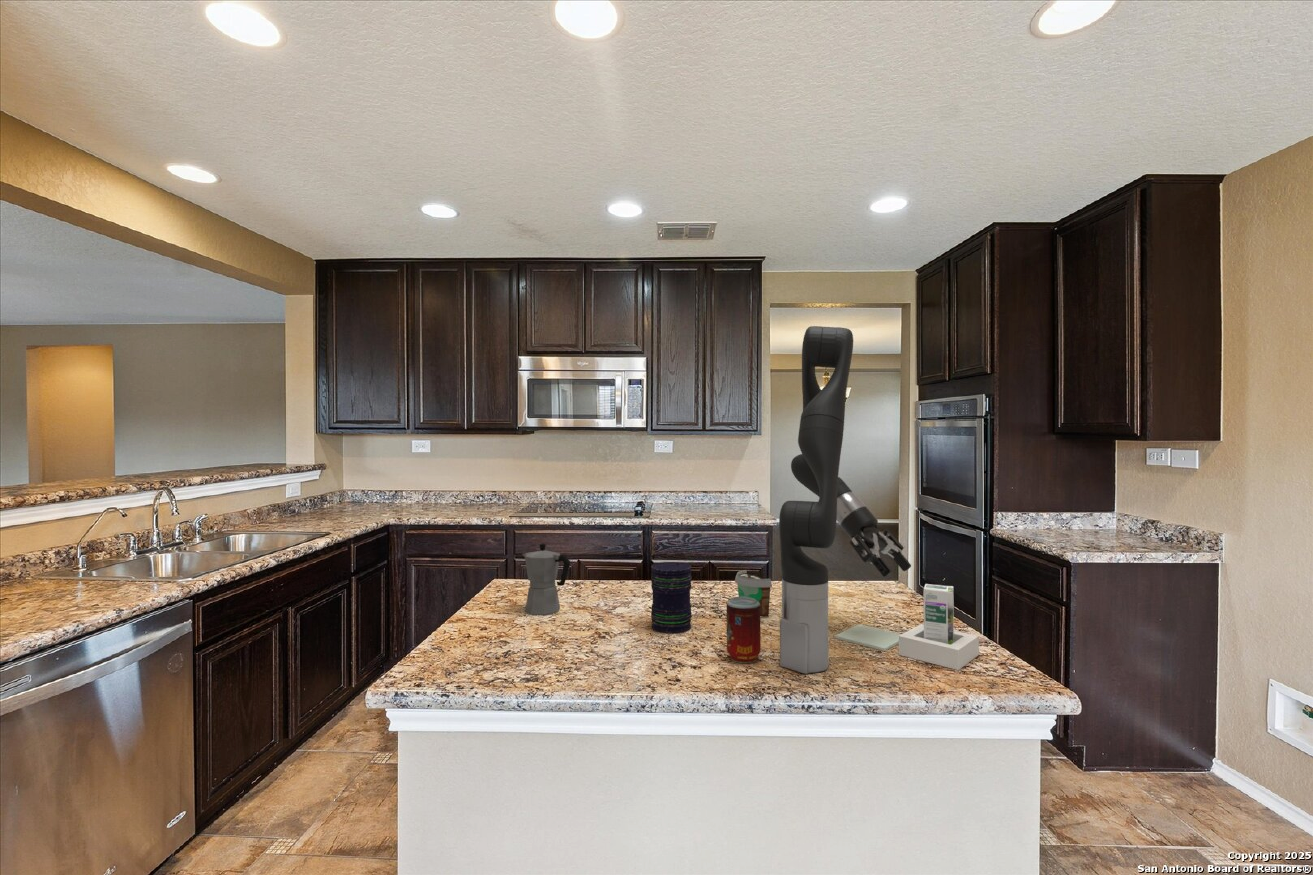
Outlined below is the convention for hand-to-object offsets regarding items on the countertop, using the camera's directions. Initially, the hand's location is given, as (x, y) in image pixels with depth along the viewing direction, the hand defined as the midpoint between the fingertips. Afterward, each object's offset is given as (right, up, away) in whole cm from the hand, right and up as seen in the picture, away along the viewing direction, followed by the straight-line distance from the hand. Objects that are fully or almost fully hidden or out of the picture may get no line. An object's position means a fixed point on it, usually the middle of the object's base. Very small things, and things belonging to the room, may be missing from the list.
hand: (898, 571), depth 135 cm
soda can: (-36, -16, -9) cm, 40 cm away
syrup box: (+6, -16, -7) cm, 19 cm away
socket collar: (+6, -16, -7) cm, 18 cm away
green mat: (-5, -16, +4) cm, 17 cm away
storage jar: (-51, -16, +12) cm, 55 cm away
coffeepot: (-84, -17, +26) cm, 89 cm away
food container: (-30, -16, +24) cm, 42 cm away
